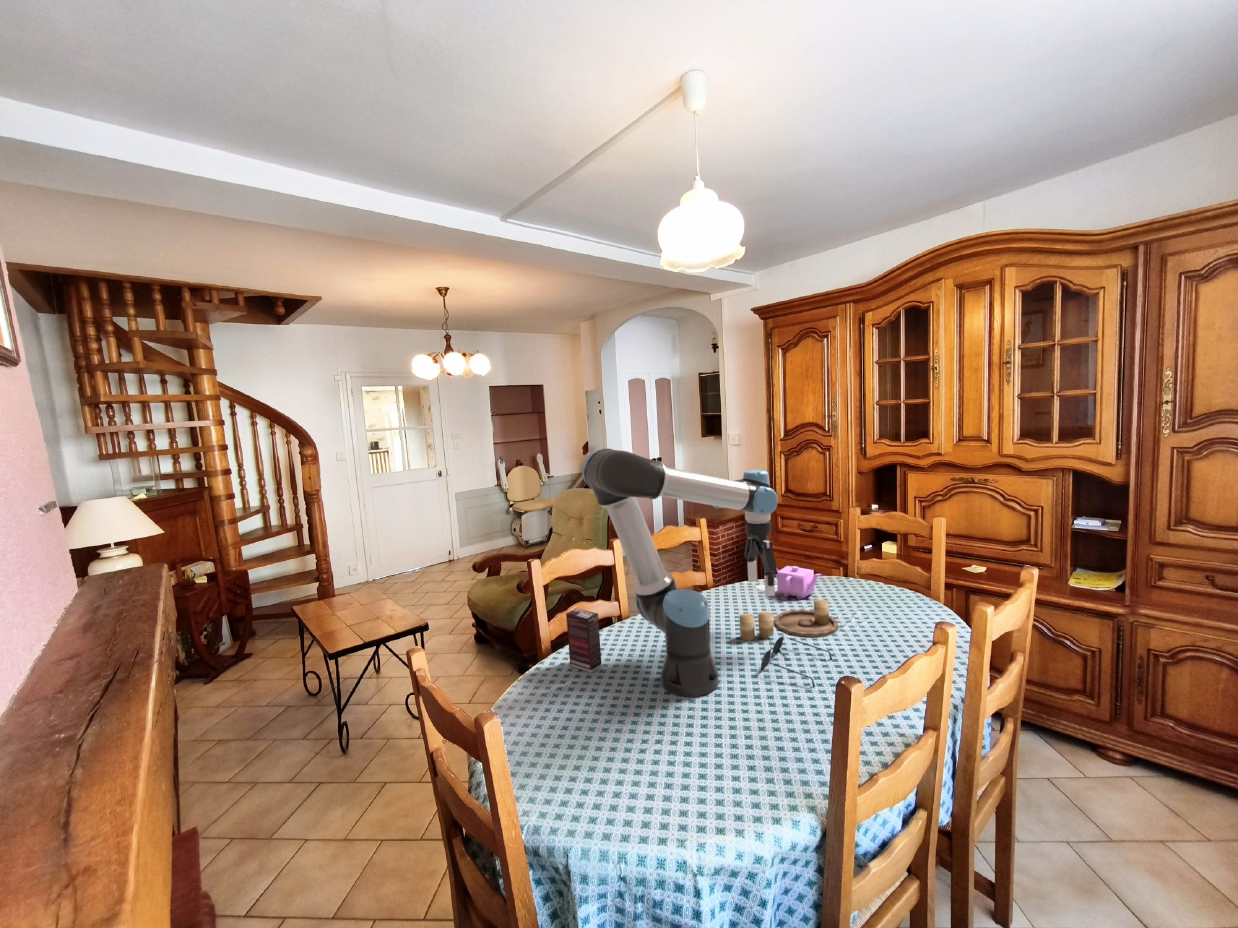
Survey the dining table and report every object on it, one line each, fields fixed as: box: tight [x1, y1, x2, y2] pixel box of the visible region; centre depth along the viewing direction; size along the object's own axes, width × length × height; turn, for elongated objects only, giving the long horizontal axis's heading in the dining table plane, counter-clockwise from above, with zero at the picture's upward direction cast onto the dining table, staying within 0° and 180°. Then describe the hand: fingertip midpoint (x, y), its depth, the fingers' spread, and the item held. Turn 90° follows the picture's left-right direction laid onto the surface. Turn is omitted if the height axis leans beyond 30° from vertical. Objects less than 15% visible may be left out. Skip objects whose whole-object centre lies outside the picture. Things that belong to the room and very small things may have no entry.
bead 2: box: [757, 611, 775, 640], centre depth 164 cm, size 4×4×7 cm
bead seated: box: [813, 598, 830, 625], centre depth 170 cm, size 4×4×7 cm
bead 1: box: [739, 613, 756, 642], centre depth 164 cm, size 4×4×7 cm
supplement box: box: [565, 608, 603, 674], centre depth 152 cm, size 9×5×16 cm, turn 52°
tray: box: [774, 609, 839, 638], centre depth 170 cm, size 19×19×2 cm
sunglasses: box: [760, 635, 833, 688], centre depth 145 cm, size 17×15×5 cm
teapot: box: [775, 565, 823, 601], centre depth 197 cm, size 15×13×11 cm
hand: (761, 588), depth 164 cm, fingers open, 13 cm apart
